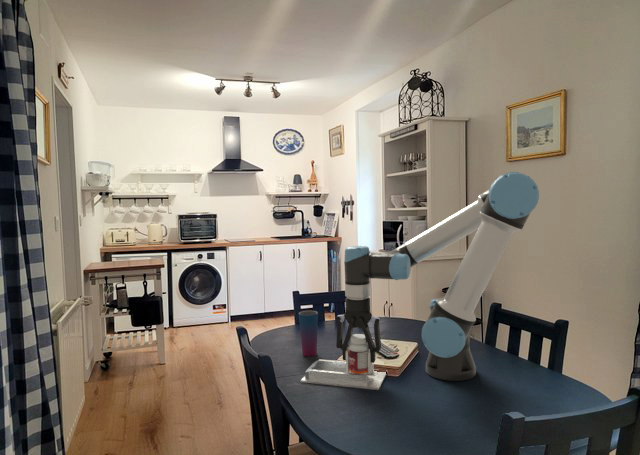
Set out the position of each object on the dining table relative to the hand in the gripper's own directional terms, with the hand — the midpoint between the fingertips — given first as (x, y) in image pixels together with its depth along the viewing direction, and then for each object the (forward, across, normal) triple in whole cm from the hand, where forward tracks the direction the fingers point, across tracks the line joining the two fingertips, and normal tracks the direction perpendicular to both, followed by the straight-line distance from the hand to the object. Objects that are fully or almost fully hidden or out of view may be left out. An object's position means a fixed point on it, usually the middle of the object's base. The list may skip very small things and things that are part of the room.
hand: (359, 371), depth 142 cm
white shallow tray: (+2, +5, 0) cm, 5 cm away
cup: (+3, +23, -18) cm, 29 cm away
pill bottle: (+1, 0, 0) cm, 1 cm away
